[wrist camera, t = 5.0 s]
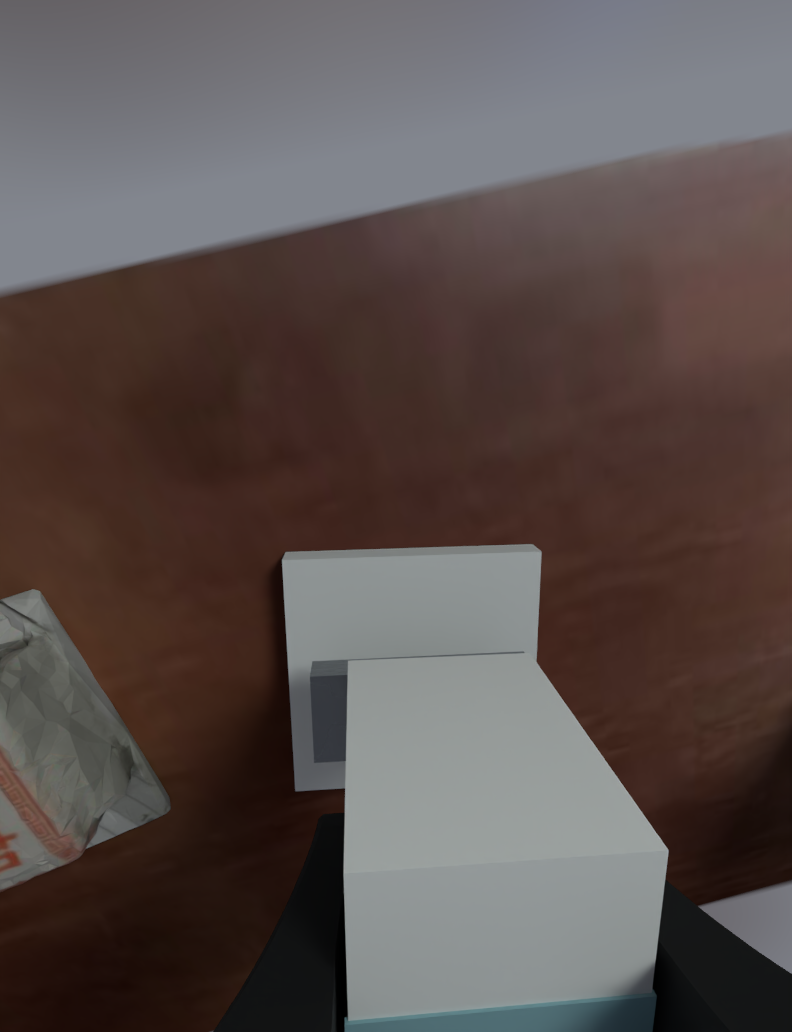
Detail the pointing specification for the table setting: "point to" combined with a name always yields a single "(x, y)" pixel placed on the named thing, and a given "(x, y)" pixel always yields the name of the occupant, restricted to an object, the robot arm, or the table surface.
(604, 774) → the block
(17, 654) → the packaged product
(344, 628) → the base
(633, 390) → the table surface
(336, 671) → the dark grey flat block
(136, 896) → the table surface
